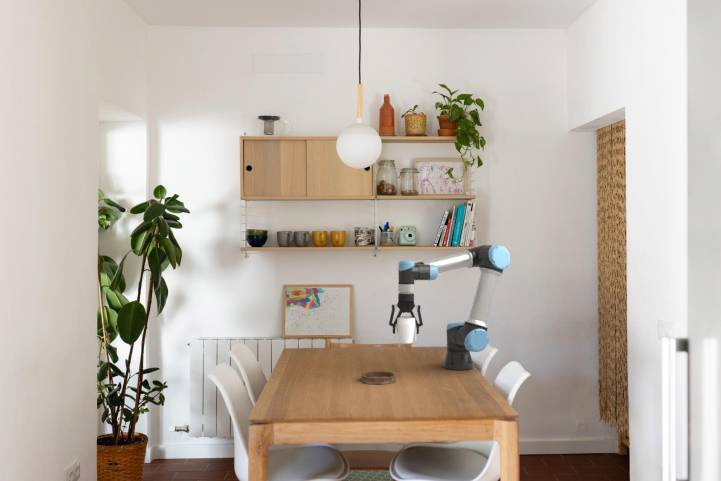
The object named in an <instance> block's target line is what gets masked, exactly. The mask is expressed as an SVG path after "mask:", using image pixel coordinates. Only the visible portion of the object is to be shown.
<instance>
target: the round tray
mask: <svg viewBox="0 0 721 481" xmlns="http://www.w3.org/2000/svg"><path fill="white" fill-rule="evenodd" d="M397 381H398V379H397V374H396V373H394V372H392V371H387V370H386V371H385V370H384V371H383V370H376V371H375V370H374V371H373V370H372V371H371V370H370V371H365V372H363V373H361V378H360V382H361V383H362V384H366V385H377V386H378V385H379V386H381V385H383V386H384V385H391V384H395V383H397Z"/></svg>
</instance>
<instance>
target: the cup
mask: <svg viewBox="0 0 721 481" xmlns="http://www.w3.org/2000/svg"><path fill="white" fill-rule="evenodd" d="M415 318H416V317H415ZM415 318H412V316H411V315H408V316H407V315H406V316H403V315H401V316H400V318H397V324H396V327H397V341H398V343H399V344H406V345H407V344H412V343H413V342H414V331H415V327H416V324H415Z"/></svg>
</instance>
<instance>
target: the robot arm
mask: <svg viewBox="0 0 721 481" xmlns="http://www.w3.org/2000/svg"><path fill="white" fill-rule="evenodd" d="M510 262H511V255H510V251H509V250H508V249H507V248H506V247H505V246H503V245H498V244H482V245H477V246H475V247H472V248H468V249H464V250H463V251H462V252H458V253H454V254H450V255H449V254H448V255H446V256H441V257H437V258H432V259H428V260H423V261H417V262H415V260H403V259H402V260H399V261H398V268H397V271H398V284H397V285H398V286H397V290H398V291H397V292H398V293H397V294H398V296H397V304H391V312H390V313H391V314H390V317H389V321H388V325H389V326H391V327H392V334H393V335H394V342H397V341H398V333H397V318H400V316H402V314H405V313H408V314H410V316H411V317H412V318H415V331H414V337H413V342H417V341H418V340H417V337H418V336H417V335H419V334H420V327H423V325H424V324H423V317H422V314H421V313H422V312H421V305H420V304H415V294H414V292H415V281H435V280H437V279H438V275H439V274H440V273H445V272H451V271H453V270H458V269H462V268H463V269H464V268H467V269H471V268H478V270H480V276H479V281H478V284H477V287H476V291H475V295H474V299H473V302H472V306H471V310H470V313H469V317H468V318H467V319H466V320H464V322H450V323H447V325H446V354H445V356H444V357H445V359H444V360H443V368H444V369H446V370H447V369H448V370H451V371H467V370H472V369H474V361H473V359H472V355H471V352H472V353H481V352H482V351H484V350H485V349H486V348H487V347H488V344H489V342H490V336H489V334H488V328H489V327H488V325H487V321H488V317H489V313H490V310H491V306H492V302H493V298H494V294H495V290H496V287H497V284H498V280H499V277H500V276H502V275H503V273H504V269H506V268H508V267H509V265H510V264H511V263H510ZM397 308H398V310H399V311H398V313H397V315H396V317H395V319H394V316H395V312H396V311H395V310H396V309H397ZM414 308H415V309H416V310H417V311H416V312H417V316H418V320H417V318H416V316H415V314H414V312H413V310H414ZM393 320H394V321H393ZM418 321H419V323H418Z"/></svg>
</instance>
